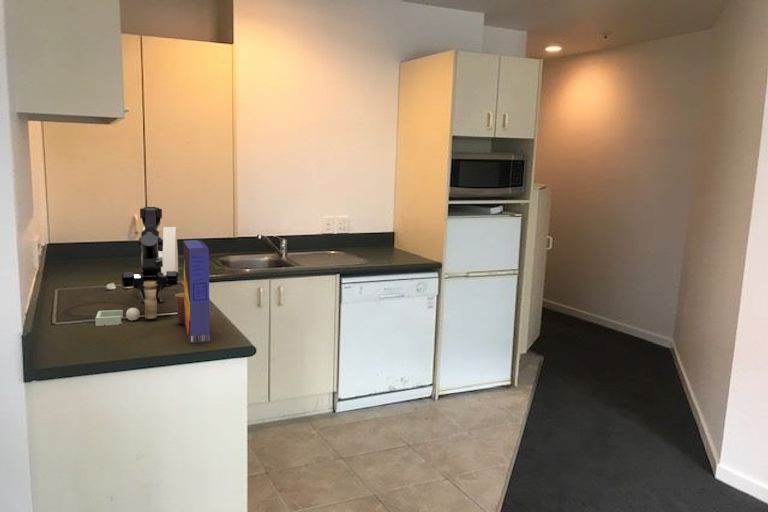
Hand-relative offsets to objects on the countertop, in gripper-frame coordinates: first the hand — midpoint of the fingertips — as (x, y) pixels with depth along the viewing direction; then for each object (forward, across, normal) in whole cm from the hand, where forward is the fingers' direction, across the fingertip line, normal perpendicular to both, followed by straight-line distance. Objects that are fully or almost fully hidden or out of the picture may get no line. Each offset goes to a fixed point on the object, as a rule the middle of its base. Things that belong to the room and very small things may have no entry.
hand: (150, 298), depth 215 cm
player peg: (+4, 0, +6) cm, 7 cm away
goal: (+4, -14, +8) cm, 16 cm away
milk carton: (-63, +3, +77) cm, 99 cm away
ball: (+2, -6, +6) cm, 9 cm away
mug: (+10, +14, +2) cm, 17 cm away
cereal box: (+21, +14, -9) cm, 27 cm away
